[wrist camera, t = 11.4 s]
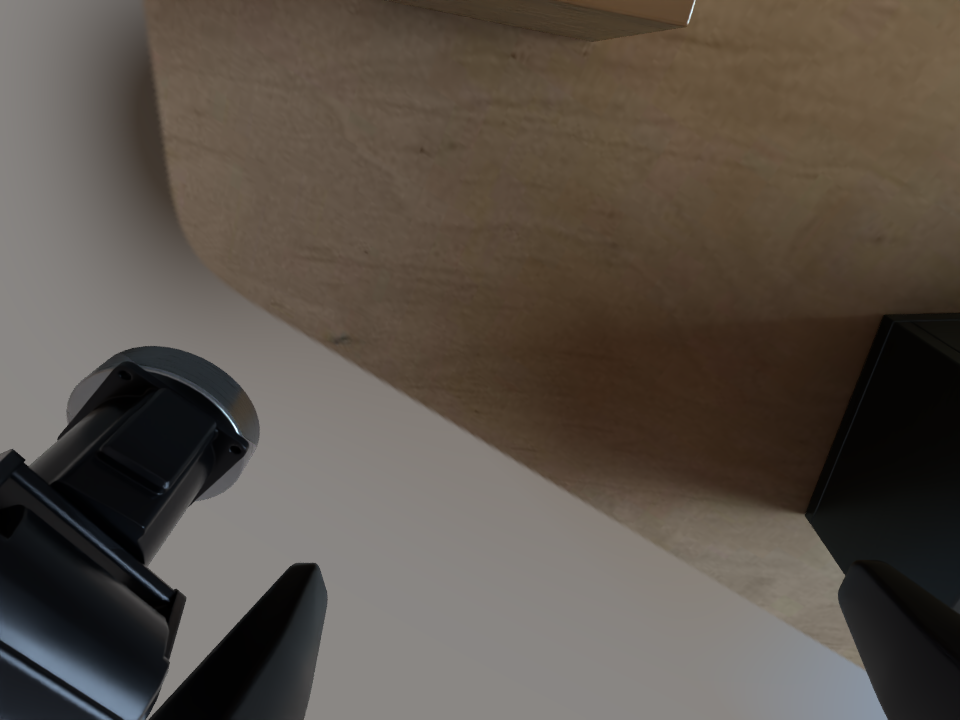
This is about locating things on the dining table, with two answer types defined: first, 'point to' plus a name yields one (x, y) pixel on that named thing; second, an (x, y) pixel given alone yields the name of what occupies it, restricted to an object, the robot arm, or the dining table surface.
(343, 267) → the dining table surface
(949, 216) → the dining table surface
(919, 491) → the trash bin
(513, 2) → the stand
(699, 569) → the dining table surface
